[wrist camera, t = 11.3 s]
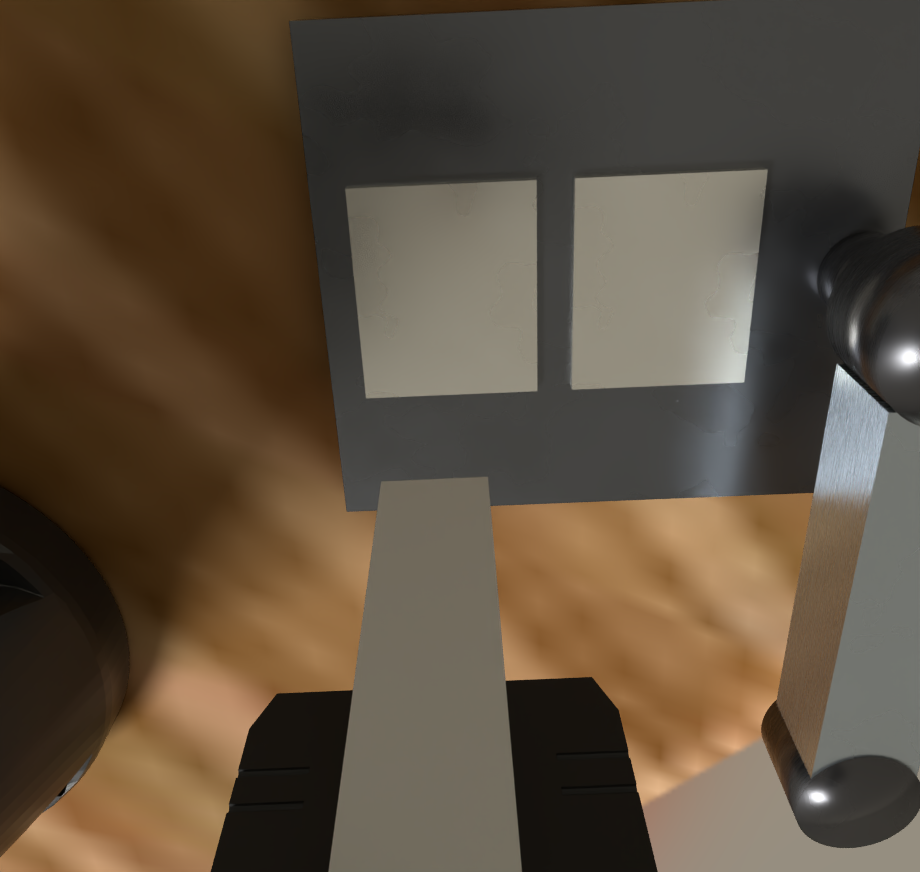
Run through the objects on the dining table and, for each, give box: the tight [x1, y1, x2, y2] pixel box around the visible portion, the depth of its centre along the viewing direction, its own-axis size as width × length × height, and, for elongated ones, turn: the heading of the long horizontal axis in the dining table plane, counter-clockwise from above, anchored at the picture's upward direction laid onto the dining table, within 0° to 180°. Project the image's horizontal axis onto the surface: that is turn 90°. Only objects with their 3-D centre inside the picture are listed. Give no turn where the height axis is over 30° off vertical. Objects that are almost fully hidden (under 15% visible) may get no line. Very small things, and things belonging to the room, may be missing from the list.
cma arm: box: [761, 226, 920, 848], centre depth 24 cm, size 18×4×3 cm, turn 1°
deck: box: [289, 0, 920, 512], centre depth 24 cm, size 16×14×4 cm
